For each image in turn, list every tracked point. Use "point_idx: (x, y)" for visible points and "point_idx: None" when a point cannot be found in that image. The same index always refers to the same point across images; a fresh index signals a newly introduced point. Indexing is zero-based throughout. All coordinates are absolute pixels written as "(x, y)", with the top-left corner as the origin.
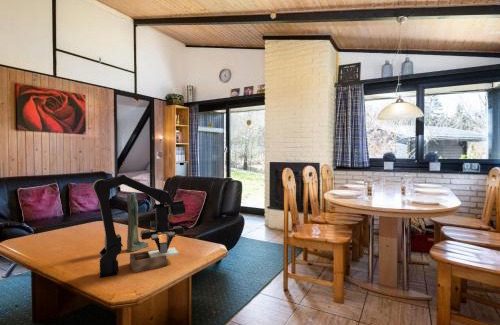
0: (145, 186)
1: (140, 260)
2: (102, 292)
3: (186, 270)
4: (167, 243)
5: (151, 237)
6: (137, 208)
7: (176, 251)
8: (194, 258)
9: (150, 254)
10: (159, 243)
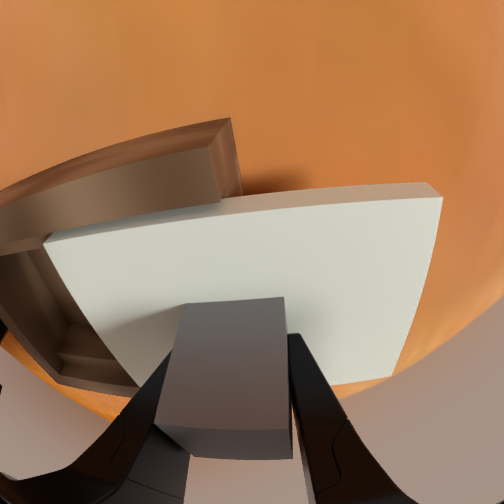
0: None
1: (89, 389)
2: (75, 400)
3: (357, 390)
4: (301, 458)
5: None
6: None
7: (388, 356)
8: (484, 263)
9: (106, 338)
10: (185, 480)
